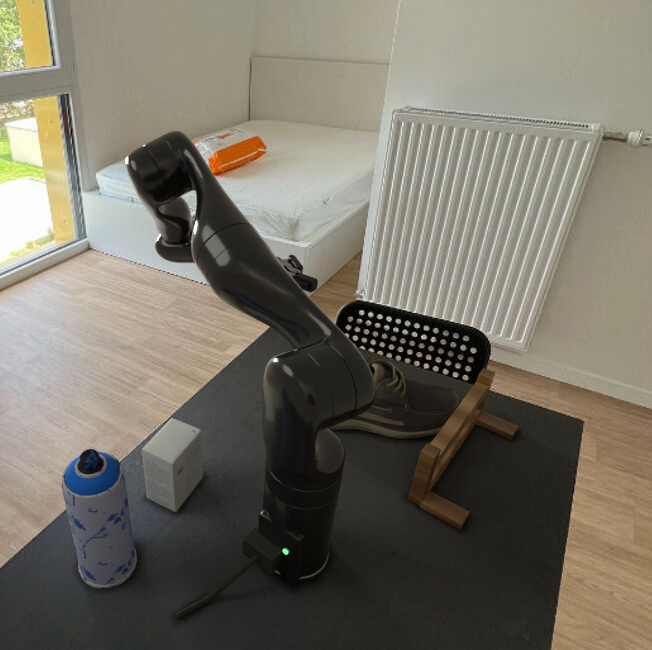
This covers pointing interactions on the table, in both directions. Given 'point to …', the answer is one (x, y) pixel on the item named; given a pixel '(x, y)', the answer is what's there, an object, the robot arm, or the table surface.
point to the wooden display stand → (454, 450)
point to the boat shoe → (403, 406)
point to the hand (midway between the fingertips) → (315, 286)
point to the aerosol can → (99, 518)
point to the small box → (173, 464)
